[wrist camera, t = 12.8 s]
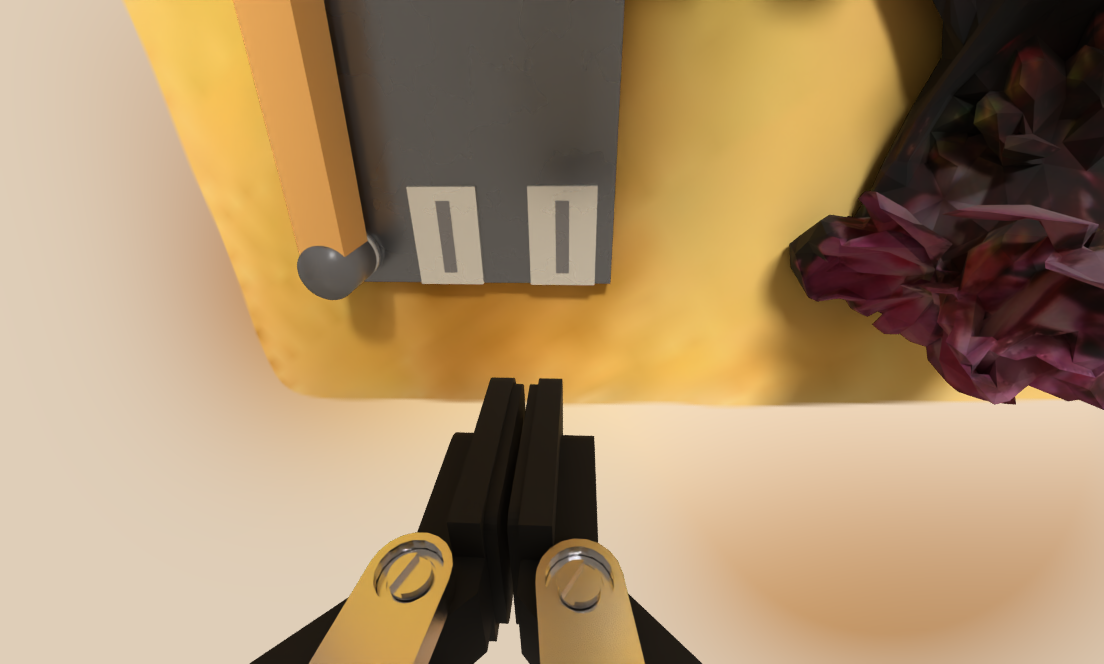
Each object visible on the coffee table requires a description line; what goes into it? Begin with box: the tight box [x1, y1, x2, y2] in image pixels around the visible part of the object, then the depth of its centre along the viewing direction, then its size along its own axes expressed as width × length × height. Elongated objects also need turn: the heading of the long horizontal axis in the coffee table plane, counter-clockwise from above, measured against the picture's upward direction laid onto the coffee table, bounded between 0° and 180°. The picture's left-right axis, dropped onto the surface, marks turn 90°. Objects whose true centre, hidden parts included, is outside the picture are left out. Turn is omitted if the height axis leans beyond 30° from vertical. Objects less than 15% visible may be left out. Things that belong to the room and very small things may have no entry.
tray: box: [324, 0, 625, 285], centre depth 24 cm, size 20×18×2 cm
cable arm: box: [233, 0, 377, 300], centre depth 23 cm, size 18×3×3 cm, turn 179°
